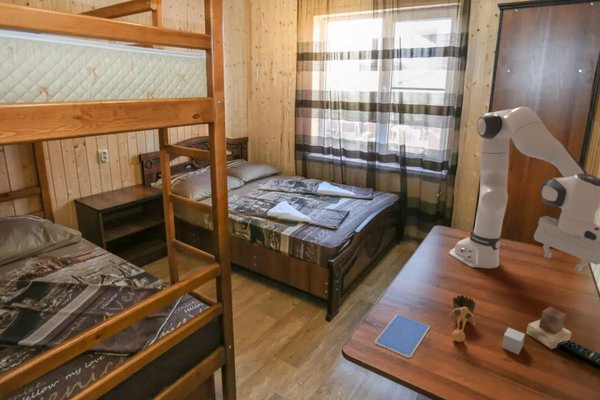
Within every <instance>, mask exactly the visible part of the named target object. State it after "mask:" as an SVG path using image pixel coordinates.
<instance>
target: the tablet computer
mask: <svg viewBox="0 0 600 400" xmlns="http://www.w3.org/2000/svg"><path fill="white" fill-rule="evenodd" d="M430 328H431V327H430V325H429V324H426V323H423V322H421V321H417V320H414V319H412V318H409V317H407V316H404V315H401V314H396V315H395V316H394V318H392V320H391V321H390V322H389V324H388V325H387V326H386V327H385V328H384V329H383V331H382V332H381V333H380V334H379V336H378V337H376V339H375V341H374V344H375V345H376V344H377V346H379V347H381V346H382V347H381V348H383V347H384V349H386V348H387V349H386V350H388V351H390V350H391V352H393V353H396V354H397V355H399V356H402V357H404V358H407V359H411V358H412V357H413V355H414V353H416V351H417V349H418V347H419V346H420V344H421V343H422V341H423V340H424V339H425V336H426V335H427V333H428V332H429V330H430Z"/></svg>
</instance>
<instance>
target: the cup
mask: <svg viewBox="0 0 600 400" xmlns="http://www.w3.org/2000/svg"><path fill="white" fill-rule="evenodd" d="M476 304H477V303H476V301H475V300H474V299H472V298H471V297H469V298H468V296H466V297H465V296H464V295H457V297H455V296H454V297H453V299H452V311H453V310H454V309H455V308H463V307H467V308H468V310H469V311H470V312H471V313H472V314H473V315H474V311H475V307H476ZM453 314H454V315H455V318H456V321H457V320H458V316H461V312H460V310H455V311H454V312H453ZM471 317H473V316H472V315H470V314H469V313H467V315H466V317H465V318H467V320H468V319H470V318H471ZM462 321H463V320H462V319H461V322H460V323H463V322H462Z"/></svg>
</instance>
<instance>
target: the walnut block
mask: <svg viewBox="0 0 600 400" xmlns="http://www.w3.org/2000/svg"><path fill="white" fill-rule="evenodd" d="M566 316H567V313H564V312H562V311H561V310H559V309H556V308H554V307H552V306H548V307H547V308H545V309H544V310H543V311H542V312H541V316H540V319H541V320H540V319H539V320H540V324H539V327H541V328H543V329H545V330H547V331H549V332H551V333H553V334H556V333H558V332H559V331H561V330H562V328H564V323H565V320H566Z"/></svg>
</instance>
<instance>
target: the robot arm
mask: <svg viewBox="0 0 600 400" xmlns="http://www.w3.org/2000/svg"><path fill="white" fill-rule="evenodd" d="M476 124H477V125H476V130H477V133H478V135H479V136H480V137H481V143H480V168H479V169H480V170H479V171H480V175H479V177H480V178H479V179H480V180H479V185H480V186H479V197H478V198H479V199H478V204H477V210H476V216H475V225H474V228H473V230H471V231H470V232H468V233H467V235H468V236H467V237H466V238H464V239H461V240H459V241H458V242H457V243H456V244H455V246H454V248H452V249H450V251H449V253H448V255H449V254H450V255H449V256H451V257H453V258H454V259H456V260H458V261H460V262H462V263H463V264H465V265H467V266H469V267H470V268H479V269H480V268H482V269H496V268H498V267H499V266H500V261H499V260H500V258H499V250H500V245H501V238H502V236H501V234H502V227H503V223H504V219H505V218H504V217H505V214H506V210H507V205H508V199H509V196H508V181H509V178H508V177H509V164H510V140H512V142H513V144H514V147H515V148H516V149H517V150H518V151H519V152H520V153H521V154H522V155H524V156H526V157H530V158H535V159H538V160H542V161H545V162H548V163H550V164H551V165H553V166H555V168H556V169H557V170H558V172H560V174H561V175H562V177H559V176H558V177H550V178H547V179H546V180H545V181H544V182H542V185H541V187H540V191H539V193H540V198H541V200H542V202H543V203H544V204H546V205H548V206H550V207H555V208H560V209H561V212H560V215H559V218H554V217H551V216H549V215H545V216H541V217H540V218H539V219H538V222H537V223H538V226H537V228H536V230H535V231H534V235H533V239H534V241H536V242H537V243H541V244H543V245H542V248H543V251H544V252H545V253H544V255H543V256H544V258H545V259H551V258H552V255H553V252H552V251H551V250H550V247H551V248H553V249H555V250H559V251H561V252H564V253H565V254H569V255H570V256H574V257H577V258H579V259H580V260H581V264H580V263H577V264H575V266H574V270H575V271H577V272H581V271H582V270H583V268H584V266H586V265H587V264H589V263H592V264H594V265H596V266H598V265H600V225H598V224H597V223H595V221H596V213H597V211H599V208H600V178H599V176H596V175H593V174H589V173H588V172H587V171H586V169H584V167H583V166H582V165H581V164H580V163H579V161H578V160H577V158H575V156H574V155H573V154H572V152H570V150H569V149H568V148H567V147H566V146H565V145H564V144H563V143H562V142H560V141H559V140H558V139H556V137H555V136H553V134H552V133H550V131H549V130H548V129H547V127H546V125H545V124H544V123H543V120H542V119H541V118H540V117H539V115H538V114H537V113H536V112H535V111H534V110H533V109H531V108H530V107H527V106H519V107H516V108H509V109H504V110H498V111H493V112H492V111H490V112H487V113H484V114H481V115H480V117H479V118H478V120H477V123H476Z"/></svg>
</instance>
